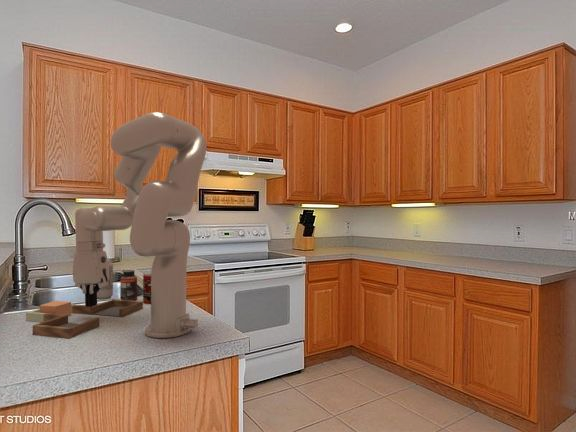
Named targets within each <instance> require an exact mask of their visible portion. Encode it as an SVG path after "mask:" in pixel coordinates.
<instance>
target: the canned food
mask: <svg viewBox="0 0 576 432" xmlns="http://www.w3.org/2000/svg"><path fill="white" fill-rule="evenodd" d="M142 277H143V278H142V281H143V282H142V288H143V289H142V301H143V304H146V305H151V271H146V272H144V273H143V275H142Z"/></svg>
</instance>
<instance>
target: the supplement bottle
mask: <svg viewBox="0 0 576 432" xmlns="http://www.w3.org/2000/svg"><path fill="white" fill-rule="evenodd" d="M122 273H123V274H122V276H121V277H120V300H129V301H137V299H138V276H137V275H135V270H134V269H127V270H126V269H125V270H123V271H122Z"/></svg>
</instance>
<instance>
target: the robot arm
mask: <svg viewBox="0 0 576 432" xmlns="http://www.w3.org/2000/svg"><path fill="white" fill-rule="evenodd" d="M110 147H111V150H112V151H113V152H114V153H115V154H116V155H118V156H122V157H120V159H119V161H118V163H117V166H116V168H115V169H114V172H113V176H114V177H113V178H114V179H115V180H116V181H117V182H118V183H119V184H120V185H122V186H123V187H125V188H126V194H125V198H124V200H123V202H122V204H121V205H120V206H115V205H114V206H113V205H112V206H109V205H107V206H104V205H102V206H101V205H100V206H93V207H84V208H83V207H82V208H78V209H76V210H75V213H74V217H75V218H74V221H75V223H74V227H75V252H74V256H73V263H72V280H73V281H72V282H73V283H74V287H75V288H78V289H80V290H81V291H82V294H83V295H84V302H85V303H84V305H85V306H86V307H92V306H95V305H98V299H97V292H99V290H100V288H102V287H106V286H107V283H106V282H107V281H109V264H108V256H107V255H108V254H107V251H106V250H104V249H105V248H106V243H104V233H103V232H108V231H110V232H111V231H125V230H128V229H129V228H131V229H130V234H129V242H130V243H129V244H130V246H131V249H132V251H133V252H134V253H135V254H136V255H137V256H140V257H147V258H148V257H154V259H153V262H152V264H151V269H150V270H151V271H150V272H151V304H150V324H149V325H147V326H146V327H145V328H144V334H145V335H146V336H147V337H149V338H155V339H156V338H157V339H169V338H176V337H180V336H183V335H186V334H188V333H189V332H190V331H191V332H192V329H197V328H198V325H199V323H198V322H199V321H198V319H194V318H193V319H191V318H190V313H187V270H188V269H187V268H188V267H187V265H188V254H189V249H190V244H191V233H190V230H189V228H188V227H187V225H186V224H185V223H183V222H181V221H180V220H175V219H167V217H174V218H175V217H176V218H177V217H183V216H186V215H188V214H189V213H190V212H191V211H192V209H193V205H194V202H195V197H196V193H197V189H198V184H199V180H200V176H201V175H200V174H201V171H202V168H203V165H204V161H205V159H206V155H207V141H206V138H205V136H204V134H203V133H202V131H200V130H199V128H198V127H196V126H194V125H193V124H191V123H190V122H187V121H185V120H183V119H180V118H177V117H174V116H172V115H170V114H166V113H163V112H160V111H154V112H152V111H151V112H149V113H146V114H144V115H141V116H139V117H136V118H135V119H131V120H130V121H127V122H125V123H123V124H121V125H120V126H119V127H118V128H116V129H115V130H114V132H113V134H112V135H111V138H110ZM162 147H163V148H167V149H172V150H175V151H176V152H177V154H176V155H175V156H174V157H173V158H172V160H171V162H170V164H169V166H168V170H167V176H166V179H165V180H162V179H161V180H159V179H157V180H151V181H149V182H148V183H146V184H144V182H145V180H146V178H147V176H148V175H149V173H150V171H151V169H152V167H153V166H154V164H155V162H156V160H157V158H158V156H159V155H160V153H161V150H162ZM143 184H144V186H143ZM142 186H143V187H142Z"/></svg>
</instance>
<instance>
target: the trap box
mask: <svg viewBox="0 0 576 432" xmlns="http://www.w3.org/2000/svg"><path fill="white" fill-rule="evenodd" d="M143 309H144V302H143V300H142V301H141V300H140V301H139V300H133V301H129V300H121V299H110V300H106V301H103V302H102V303H97V305H95V306H92V307H86V306H85V304H84V305H83V304H82V305H81V304H72V303H71V314H82V315H94V316H106V317H117V318H123V317H126V316H128V315H130V314H133V313H135V312H138V311H140V310H143ZM25 321H27V322H34V323H35V322H37V324H33V325H32V336H43V337H52V338H62V339H72V338H74V337H76V336H79V335H82V334H84V333H87V332H88V331H91V330H93V329H97V328H99V327H100V317H94V318H93V319H89V320H87V321H83V322H81V323H75V322H69V316H68V315H61V314H49V313H40V308H38V309H34V310H30V311H28V312H27V311H26V312H25ZM38 322H39V323H38Z"/></svg>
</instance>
